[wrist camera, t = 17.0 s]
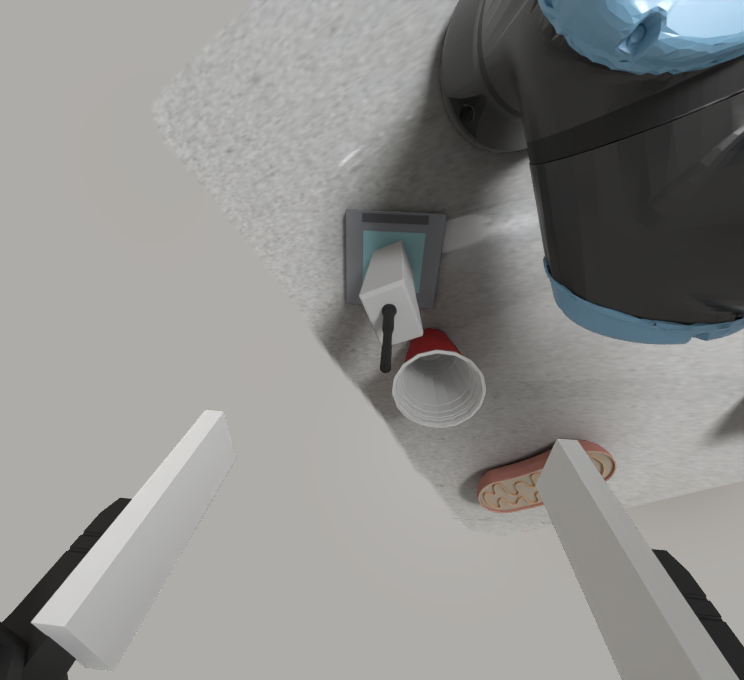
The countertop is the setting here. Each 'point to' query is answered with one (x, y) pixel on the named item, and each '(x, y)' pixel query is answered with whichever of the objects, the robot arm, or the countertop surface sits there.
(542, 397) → the countertop surface
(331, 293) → the countertop surface
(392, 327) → the vintage mobile phone
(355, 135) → the countertop surface
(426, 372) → the plastic cup
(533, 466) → the anatomical model
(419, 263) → the pad
